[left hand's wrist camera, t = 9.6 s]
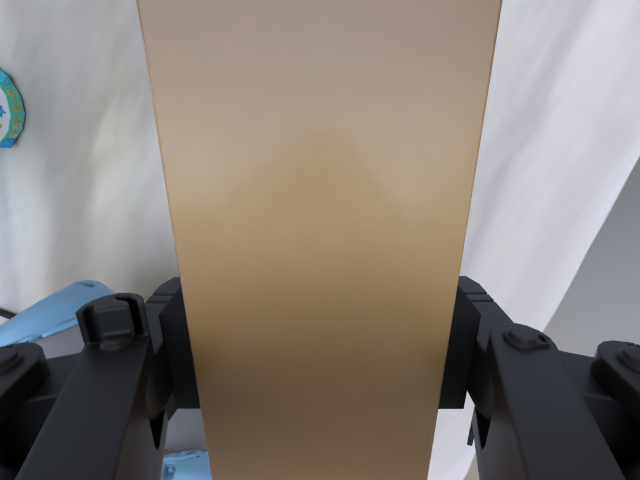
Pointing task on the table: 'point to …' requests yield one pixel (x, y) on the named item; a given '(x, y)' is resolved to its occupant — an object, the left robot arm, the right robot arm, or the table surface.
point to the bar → (319, 219)
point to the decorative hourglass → (10, 111)
